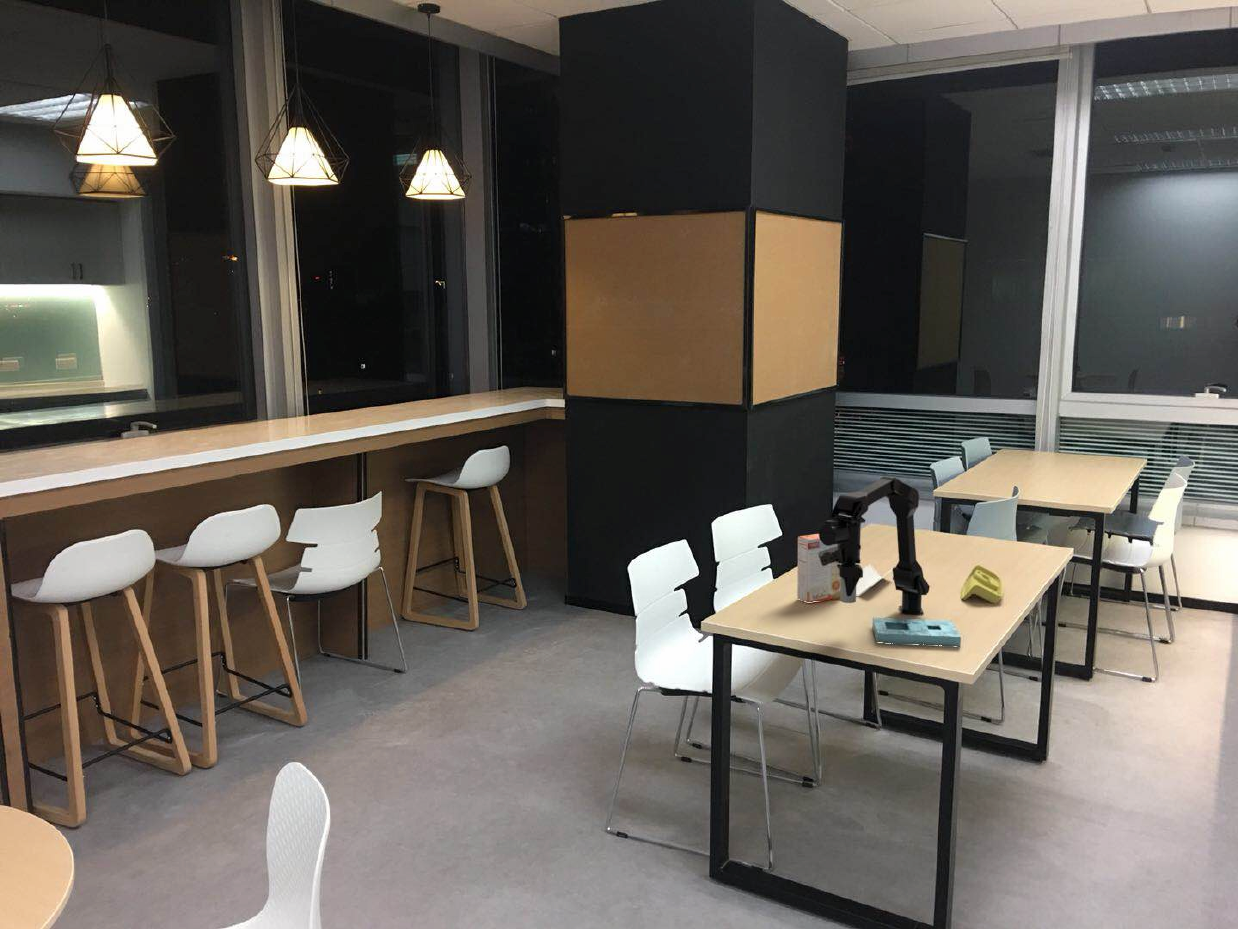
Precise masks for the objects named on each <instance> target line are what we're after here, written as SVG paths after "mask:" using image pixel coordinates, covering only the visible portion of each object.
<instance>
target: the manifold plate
mask: <svg viewBox="0 0 1238 929" xmlns="http://www.w3.org/2000/svg"><path fill="white" fill-rule="evenodd" d="M873 629H874V631H873V633H874V632H875V634H874V637H875V636H876V638H875V640H876V639H877V641H876V643H877V642H883V643H891V644H890V645H893V644H919V645H923V644H924V645H938V646H939V645H942V646H957V647H956V648H958V647H960V648H961V641H962V636H961V635H960V633H959V631H958V629H957V627H956V625H955V624H954V622H953V620H947V619H946V620H945V619H944V620H943V619H940V620H939V619H938V620H937V619H922V618H921V619H920V618H919V619H917V618H894V617H876V616H875V617H872V630H873ZM892 643H893V644H892Z"/></svg>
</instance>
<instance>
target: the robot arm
mask: <svg viewBox="0 0 1238 929" xmlns="http://www.w3.org/2000/svg"><path fill="white" fill-rule="evenodd" d="M885 497H886V498H887V499H888V503H889V504H888V505H889V508H890V509H891V511H892V513H893V514H894V515H895V519H896V534H897V538H896V539H897V550H898V562H897V563H896V565H895V566H894V567H893V570H892V580H893V582H894V587H895V591H900V592H902V593H901V605H899V606H898V607H899V611H900V614H903V613H904V615H905V614H906V615H907V614H908V615H924V610H923V609H922V598H923V597H922V596H927V595H928V594H929V591H930V587H931V586H930V585H929V583H928V581H926V578H924V573H923V572H924V571H923V568H922V566H921V565H920V563H919V562H918V560H917V552H916V537H915V536H916V534H915V521H914V520H915V518H914V515H915V513H916V511H917V510H918V508H919V502H920V501H919V500H920V493H919V491H918V489H916V488H915V487H912V486H910V485H908V484H907V483H904V482H902V481H901V479H898V477H892V476H882V477H881V478H880V479H878V480H877V481H875V482H873V483H871V484H870V485H868V486H866V487H865V488H864V487H863V489H861V490H859V491H854V492H847V493H846V492H845V493H842V494H840V496H838V498H837V500H836V501H835V503H834V506H833V508H832V510H831V513H830V514H829V517H828V519H829V520H825V522H824V525H822V526H821V528H820V529H819V531H818V534H819V538H820V540H821V542H822V543H823V544H824V545H826V546H830V545H834V544H838V546H837V547H834V548H830V549H826V550H823V551H820V552H819V553H818V555H819V558H820V561H821V564H822V566H826V565H827V564H830V563H833V562H838V563H840V564H837V567H838V568H839V576H840V577H842V578H843V579H844V582H845V588H846V594H847V596H851V595H852V593H853V591H854V589H855V587H856V585H857V583H858V581H859V579H860V578H862V577H863V569H864V568H863V567H862V566H861V565H860V564H861V557H860V556H861V550H862V544H861V532H862V530H861V528H862V524H863V523H866V518H863V516H864V515H865V514H866V513H867V512H868V511H869V507H870V506H871V505H872V504H874V503H876V502H877V501H880V500H881V499H883V498H885Z"/></svg>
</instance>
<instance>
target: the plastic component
mask: <svg viewBox="0 0 1238 929" xmlns="http://www.w3.org/2000/svg"><path fill="white" fill-rule="evenodd" d="M971 595H977V596H979V597H980V598H982V599H983V600H986V601H988V602H990V603H992V604H998V603H999V601H1000V600H1001V598H1002V597H1003V580H1002V578H1001V577H1000V576H998V574H996V573H995V572H993V571H991V570H990V569H988V568H986V567H984V566H982V565H980V564H977V565H975V566H974V567H973V569H972V570H971V571H970V572H969V574H968V576H967V578H966V579H965V582H964V583H963V585H962V588H961V593H960V599H961V600H962V599H963V601H966V600H967V599H968V598H970V596H971ZM997 602H998V603H997Z"/></svg>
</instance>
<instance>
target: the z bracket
mask: <svg viewBox="0 0 1238 929" xmlns="http://www.w3.org/2000/svg"><path fill="white" fill-rule="evenodd" d="M893 568H894V567H893ZM893 568H891V569H890V570H888V572H887V571H886V573H885V574H883V575H882V576H881V575H880V574H879V572H878V571H877V570H876V568H874V567H873V565H871V563H869V564H868V565H865V567H864V568H862V569H863V577H862V578H860V579H859V581H858V583H857V585H856V595H858V596H859V597H860V596H862V595H863V594H864V593H866V592H867V591H868V590H870V589H871V588H872V587H873V586H874V585H876V584H877V583H879V581H880V580H882V579H883V578H884V577H886V576H887V575H888V574H889V573H890V572H893ZM864 590H865V591H864Z"/></svg>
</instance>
